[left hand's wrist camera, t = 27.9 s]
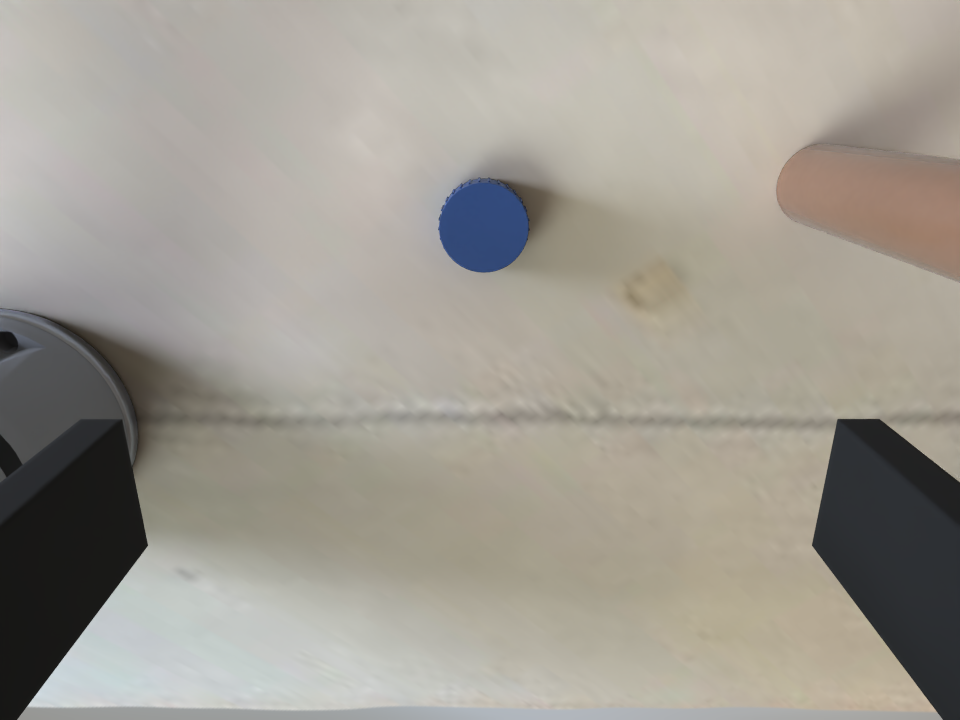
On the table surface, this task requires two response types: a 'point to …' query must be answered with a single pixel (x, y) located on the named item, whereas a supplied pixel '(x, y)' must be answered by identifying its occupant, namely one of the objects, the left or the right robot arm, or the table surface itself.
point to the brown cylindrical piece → (879, 202)
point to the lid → (483, 225)
